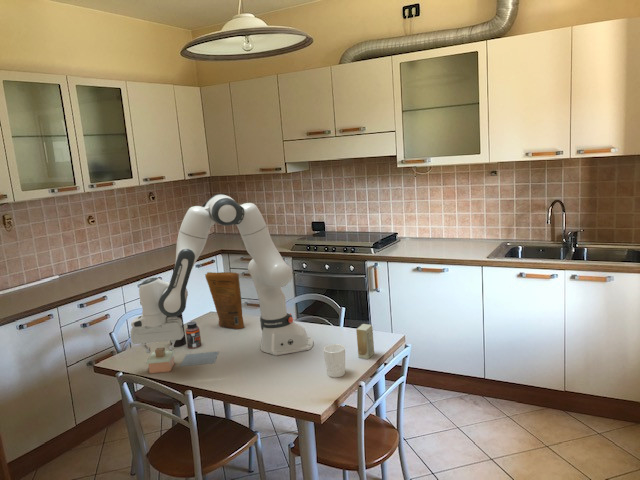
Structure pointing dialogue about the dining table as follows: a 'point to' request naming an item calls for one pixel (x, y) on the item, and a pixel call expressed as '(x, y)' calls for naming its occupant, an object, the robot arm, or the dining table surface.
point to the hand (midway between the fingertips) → (160, 351)
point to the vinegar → (183, 341)
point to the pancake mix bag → (226, 298)
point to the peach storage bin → (161, 366)
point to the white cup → (335, 360)
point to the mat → (199, 359)
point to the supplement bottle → (193, 335)
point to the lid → (160, 356)
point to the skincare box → (365, 341)
